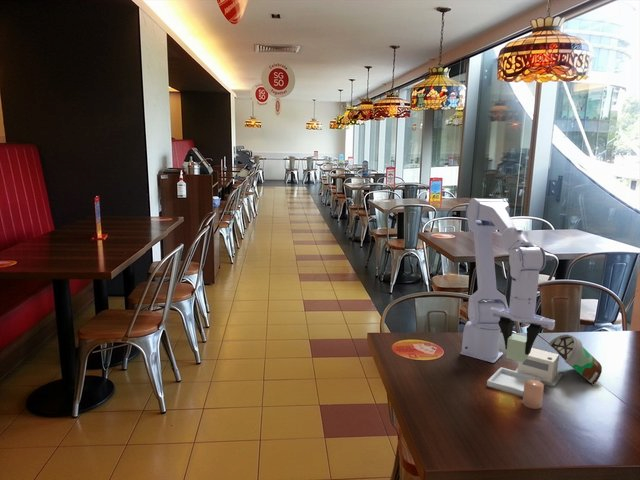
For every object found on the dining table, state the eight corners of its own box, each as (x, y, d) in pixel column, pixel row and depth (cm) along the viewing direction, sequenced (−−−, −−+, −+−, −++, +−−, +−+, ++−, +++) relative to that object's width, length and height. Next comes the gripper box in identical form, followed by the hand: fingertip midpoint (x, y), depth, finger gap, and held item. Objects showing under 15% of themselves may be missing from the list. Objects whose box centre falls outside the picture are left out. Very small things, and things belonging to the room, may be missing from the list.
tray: (486, 385, 119) (487, 380, 119) (500, 372, 127) (500, 367, 127) (529, 399, 113) (530, 393, 113) (541, 383, 121) (541, 378, 121)
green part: (506, 357, 118) (507, 338, 117) (511, 352, 121) (513, 333, 121) (523, 362, 116) (525, 342, 115) (527, 357, 119) (529, 337, 118)
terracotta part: (520, 404, 111) (522, 384, 110) (525, 398, 114) (527, 378, 113) (538, 410, 108) (541, 389, 107) (543, 403, 111) (545, 383, 110)
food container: (615, 370, 119) (584, 344, 118) (596, 387, 120) (565, 362, 119) (591, 350, 131) (563, 326, 130) (575, 366, 132) (547, 342, 131)
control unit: (512, 375, 125) (514, 352, 124) (521, 365, 131) (523, 343, 130) (554, 387, 119) (557, 363, 118) (561, 376, 125) (564, 353, 124)
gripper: (487, 294, 117) (482, 347, 120) (552, 307, 109) (545, 364, 111) (496, 288, 123) (492, 339, 125) (559, 299, 114) (553, 354, 116)
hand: (517, 350), depth 118 cm, fingers closed on green part, 4 cm apart
